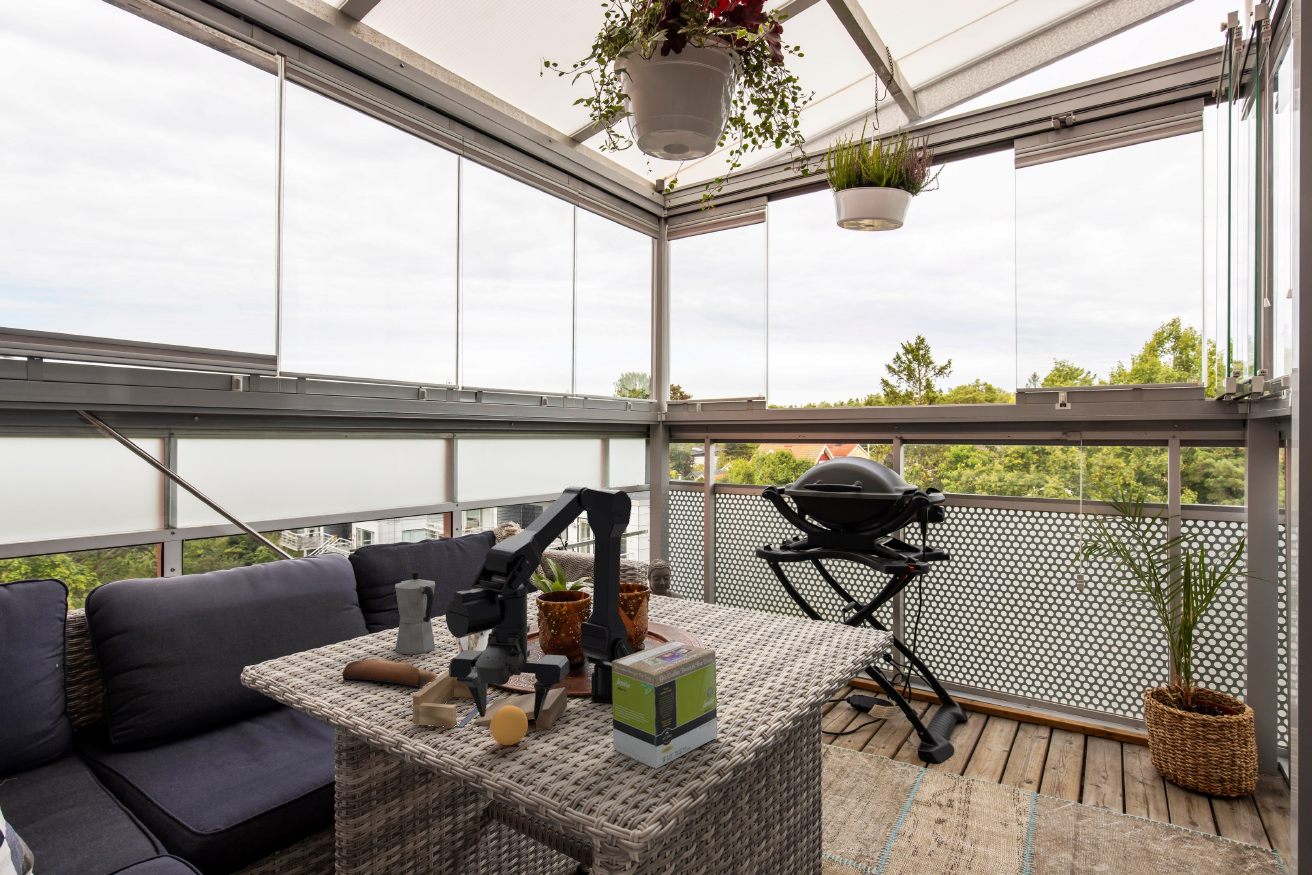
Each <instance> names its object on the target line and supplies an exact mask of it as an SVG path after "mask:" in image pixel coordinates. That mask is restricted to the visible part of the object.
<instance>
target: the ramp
mask: <svg viewBox="0 0 1312 875" xmlns="http://www.w3.org/2000/svg"><path fill="white" fill-rule="evenodd" d="M534 704H535V692H533V693H528V694H523V695H519V696H518V695H517V696H513V697H506V698H502V699H496V700H495V701H493V702H492V704H490V706H489V707H487V708H486V713H485V716H484V717H480V715H479V716H478V717H477V718H476V719H475V720H474V721H473V725H478V726H479V725H480V726H490V724H491V720H492V717H493V715H494V714H495V713H496V712H497V711H498V710H499V709H500V708H502V707H504V706H509V705H512V706H516V707H519V708H520V709H522V710H523V711H524V713H525V714H526V717H527V720H528V721H529V720H534ZM567 707H568V691H567V688H566V686H565V687H559V688H554V689H553V688H552V689H550V690H549V692H548V695H547V697H546V700H545V703H544V706H543V709H542V711H541V714H540V717H539V719H538V721H537V722H535V723H536V724H535V729H536V730H545V731H547V730H548V731H550V730H551V729H552V727H554V724H555V723H556V722H557V720H559V718H560V717H561V715H562V714H563V713H564V711H565V710H566V708H567Z"/></svg>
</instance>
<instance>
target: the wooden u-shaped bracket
mask: <svg viewBox="0 0 1312 875" xmlns="http://www.w3.org/2000/svg"><path fill="white" fill-rule="evenodd" d="M454 697H456V698H458V697H459V698H469V697H470V698H471V699H473V696H472V694H471V692H470V690H469V688H468V687H467V686H466V685H465V684H463V683H462V682H458V681H457V677H450V676H449V669H447V670H446V671H445V672H444V673H442V674H440V675H439V676H438V677H436V678H435V679H434V680H432V681H431V682H429V683H428V684H426V685H425V687H422V689H421V690H419V691H418V692H417V693H415V694H414V695H413V696H412V725H413V724H420V725H431V726H430V727H432V725H433V726H444V727H443V728H445V727H454V726H455V725H457V727H456V726H455V727H456V728H463V727H465V726H466V724H467V723H469V721H471V719H473V717H475V716H476V715H477V714H479V712H478V709H477V707H476V706H475V708H473V709H472V710H471V712H469V713H468V714H467V715H466V716H465V717H464V718H463V719H462V720H460V722H459V723H460V724H459V723H457V704H447V703H448V702H449V701H451V700H452V699H453V698H454ZM493 698H494V697H493V696H491V697H490V696H487V704H488V703H489V702H490V701H491V700H492V699H493ZM446 702H447V703H446ZM445 703H446V704H445ZM458 725H459V726H458ZM455 727H454V728H455Z"/></svg>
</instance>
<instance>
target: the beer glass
mask: <svg viewBox="0 0 1312 875" xmlns="http://www.w3.org/2000/svg"><path fill="white" fill-rule="evenodd" d="M491 631H492V629H490V630H487V631H483V632H480V633H476V634H473V635H469V636H466V637H462V638H456V637H455V639H456V641H455V642H456V646H457V652H458V654H460V653H461V652H463V651H464V650H475V651H484V650H485V649H486V646H487V643H488V637H489V633H490V632H491Z"/></svg>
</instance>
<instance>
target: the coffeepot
mask: <svg viewBox="0 0 1312 875" xmlns="http://www.w3.org/2000/svg"><path fill="white" fill-rule="evenodd" d="M419 573H420V572H419V571H417V570H416V571H412V572H411V574H412V575H411V576H412V579H407V580H403V581H402V580H401V581H400V582H398V583H395V588H394V589H395V594H396V601H397V602H396V603H397V608H398V609H397V610H398V615H399V624H398V625H399V626H398V630H397V638H396V644H395V653H398V654H401V655H417V654H419V655H420V654H424V653H428V652H430V651H433V650H434V649H436V645H435V638H434V632H433V626H432V619H431V615H432V610H433V604H434V600H435V588H436V583H435V581H434V580H428V579H427V580H426V579H421V578H419Z"/></svg>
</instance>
